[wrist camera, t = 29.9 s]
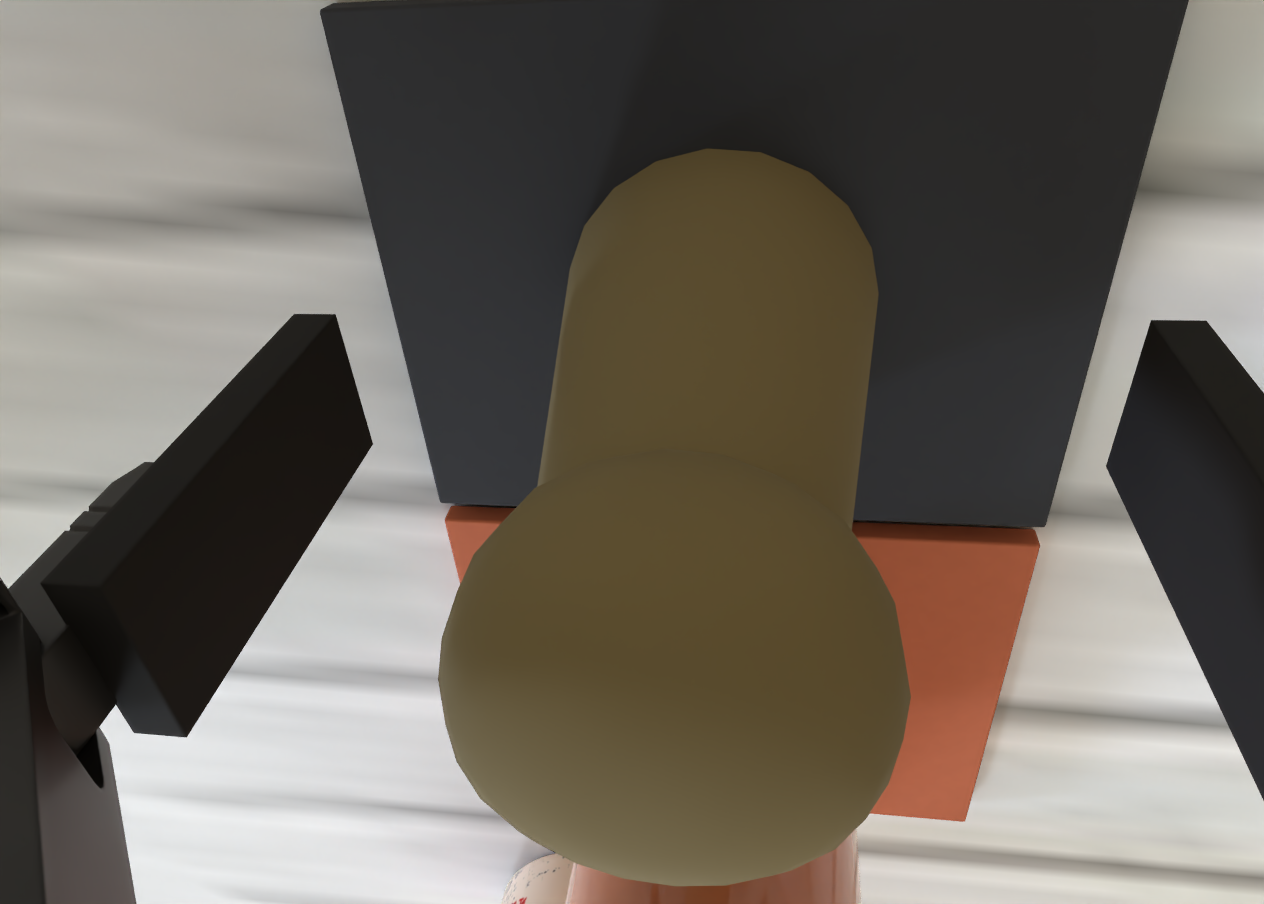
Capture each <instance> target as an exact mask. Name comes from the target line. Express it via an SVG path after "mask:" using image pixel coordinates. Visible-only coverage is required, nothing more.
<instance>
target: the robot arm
mask: <svg viewBox="0 0 1264 904" xmlns="http://www.w3.org/2000/svg"><path fill="white" fill-rule="evenodd" d="M372 445H373V443H372V439H371V436H370V432H369V429H368V425H367V422H366V418H365V415H364V411H363V408H362V405H361V401H360V398H359V394H358V391H357V387H356V384H355V380H354V377H353V373H352V370H351V366H350V363H349V359H348V356H347V353H346V349H345V346H344V342H343V339H342V335H341V332H340V328H339V325H338V321H337V318H336V314H294V315H293V316H292V317H291V318H290V319H289V320H288V321H287V322H286V323H285V324H284V325H283V327H282V328H281V329H280V330H279V331H278V332H277V333H276V334H275V335H274V336H273V337H272V338H271V339H270V340H269V341H268V342H267V343H266V345H265V346H264V347H263V348H262V349H261V350H260V351H259V352H258V353H257V354H256V355H255V356H254V357H253V358H252V359H251V360H250V361H249V363H248V364H247V365H246V366H245V367H244V368H243V369H242V370H241V371H240V372H239V373H238V374H237V375H236V376H235V377H234V378H233V379H232V381H231V382H230V383H229V384H228V385H227V386H226V387H225V388H224V389H223V390H222V391H221V392H220V393H219V394H218V395H217V396H216V397H215V399H214V400H213V401H212V402H211V403H210V404H209V405H208V406H207V407H206V408H205V409H204V410H203V411H202V412H201V413H200V414H199V415H198V416H197V418H196V419H195V420H194V421H193V422H192V423H191V424H190V425H189V426H188V427H187V428H186V429H185V430H184V431H183V432H182V433H181V434H180V436H179V437H178V438H177V439H176V440H175V441H174V442H173V443H172V444H171V445H170V446H169V447H168V448H167V449H166V450H165V451H164V452H163V454H162V455H161V456H160V457H159V458H158V459H157V460H156V461H155V462H144V463H143V464H141V465H140V466H138V467H136V468H135V469H133V470H132V471H130V472H128V473H127V474H125V475H124V476H122V477H120V478H119V479H117V480H116V481H114V482H112V483H111V484H110V485H109V486H108V487H107V488H106V489H105V491H104V492H103V493H102V494H101V495H100V496H99V497H98V498H97V499H96V500H95V501H94V502H93V503H92V504H91V505H90V506H89V511H84V512H83V513H82V514H81V515H80V516H79V517H78V518H77V519H76V520H75V521H74V522H73V523H72V524H71V525H70V531H64V532H63V533H62V534H61V536H60V537H59V538H58V539H57V540H56V541H55V542H54V543H53V544H52V545H51V546H50V547H49V548H48V549H47V550H46V551H45V552H44V553H43V554H42V555H41V556H40V557H39V558H38V559H37V560H36V561H35V562H34V563H33V564H32V565H31V566H30V567H29V568H28V569H27V570H26V571H25V572H24V573H23V574H22V575H21V576H20V577H19V578H18V580H17V581H16V582H15V583H14V584H13V585H12V586H11V587H10V588H9V589H8V588H7V587H6V585H5V584H4V582H3V581H2V579H1V578H0V904H136V899H135V893H134V887H133V881H132V875H131V869H130V863H129V858H128V852H127V846H126V840H125V834H124V828H123V822H122V816H121V810H120V805H119V799H118V793H117V787H116V781H115V775H114V769H113V763H112V757H111V752H110V746H109V743H108V741H107V739H106V737H105V736H104V734H103V732H102V731H101V729H100V728H99V726H100V725H101V724H102V722H103V721H104V720H105V718H106V717H107V715H108V714H109V713H110V711H111V710H112V709H113V707H114V706H115V705H117V707H118V708H119V710H120V711H121V713H122V715H123V716H124V718H125V719H126V721H127V723H128V724H129V726H130V727H131V729H132V731H133V732H134V733H141V734H153V735H165V736H177V737H187V736H188V734H189V733H190V731H191V730H192V728H193V726H194V725H195V723H196V722H197V720H198V718H199V717H200V715H201V714H202V712H203V711H204V709H205V707H206V706H207V704H208V703H209V701H210V700H211V698H212V696H213V695H214V693H215V692H216V690H217V689H218V687H219V685H220V684H221V682H222V681H223V679H224V678H225V676H226V674H227V673H228V671H229V670H230V668H231V667H232V665H233V663H234V662H235V660H236V659H237V657H238V656H239V654H240V652H241V651H242V649H243V648H244V646H245V645H246V643H247V641H248V640H249V638H250V637H251V635H252V634H253V632H254V630H255V629H256V627H257V626H258V624H259V623H260V621H261V619H262V618H263V616H264V615H265V613H266V612H267V610H268V608H269V607H270V605H271V604H272V602H273V601H274V599H275V597H276V596H277V594H278V593H279V591H280V590H281V588H282V586H283V585H284V583H285V582H286V580H287V579H288V577H289V575H290V574H291V572H292V571H293V569H294V567H295V566H296V564H297V563H298V561H299V560H300V558H301V556H302V555H303V553H304V552H305V550H306V549H307V547H308V545H309V544H310V542H311V541H312V539H313V538H314V536H315V534H316V533H317V531H318V530H319V528H320V527H321V525H322V523H323V522H324V520H325V519H326V517H327V516H328V514H329V512H330V511H331V509H332V508H333V506H334V505H335V503H336V501H337V500H338V498H339V497H340V495H341V494H342V492H343V490H344V489H345V487H346V486H347V484H348V483H349V481H350V479H351V478H352V476H353V475H354V473H355V472H356V470H357V468H358V467H359V465H360V464H361V462H362V461H363V459H364V457H365V456H366V454H367V453H368V451H369V450H370V448H371V446H372ZM1106 467H1107V469H1108V471H1109V474H1110V476H1111V478H1112V480H1113V482H1114V484H1115V486H1116V488H1117V491H1118V493H1119V495H1120V497H1121V499H1122V501H1123V503H1124V505H1125V507H1126V510H1127V512H1128V514H1129V516H1130V518H1131V520H1132V522H1133V524H1134V527H1135V529H1136V531H1137V533H1138V535H1139V537H1140V539H1141V541H1142V543H1143V546H1144V548H1145V550H1146V552H1147V554H1148V556H1149V558H1150V560H1151V563H1152V565H1153V567H1154V569H1155V571H1156V573H1157V575H1158V577H1159V580H1160V582H1161V584H1162V586H1163V588H1164V590H1165V592H1166V594H1167V596H1168V599H1169V601H1170V603H1171V605H1172V607H1173V609H1174V611H1175V613H1176V616H1177V618H1178V620H1179V622H1180V624H1181V626H1182V628H1183V630H1184V632H1185V635H1186V637H1187V639H1188V641H1189V643H1190V645H1191V647H1192V649H1193V652H1194V654H1195V656H1196V658H1197V660H1198V662H1199V664H1200V666H1201V669H1202V671H1203V673H1204V675H1205V677H1206V679H1207V681H1208V683H1209V685H1210V688H1211V690H1212V692H1213V694H1214V696H1215V698H1216V700H1217V702H1218V705H1219V707H1220V709H1221V711H1222V713H1223V715H1224V717H1225V719H1226V721H1227V724H1228V726H1229V728H1230V730H1231V732H1232V734H1233V736H1234V738H1235V741H1236V743H1237V745H1238V747H1239V749H1240V751H1241V753H1242V755H1243V758H1244V760H1245V762H1246V764H1247V766H1248V768H1249V770H1250V772H1251V774H1252V777H1253V779H1254V781H1255V783H1256V785H1257V787H1258V789H1259V791H1260V794H1261V796H1262V798H1263V800H1264V393H1263V392H1262V391H1261V389H1260V388H1259V387H1258V385H1257V384H1256V383H1255V382H1254V380H1253V379H1252V378H1251V377H1250V375H1249V374H1248V373H1247V372H1246V370H1245V369H1244V368H1243V366H1242V365H1241V364H1240V363H1239V361H1238V360H1237V359H1236V358H1235V356H1234V355H1233V354H1232V353H1231V351H1230V350H1229V349H1228V348H1227V346H1226V345H1225V344H1224V342H1223V341H1222V340H1221V339H1220V337H1219V336H1218V335H1217V334H1216V332H1215V331H1214V330H1213V329H1212V327H1211V326H1210V325H1209V324H1208V322H1207V321H1172V320H1151V323H1150V326H1149V329H1148V332H1147V336H1146V339H1145V342H1144V345H1143V348H1142V352H1141V355H1140V358H1139V361H1138V365H1137V368H1136V371H1135V374H1134V378H1133V381H1132V384H1131V387H1130V391H1129V394H1128V397H1127V400H1126V404H1125V407H1124V410H1123V413H1122V416H1121V420H1120V423H1119V426H1118V429H1117V433H1116V436H1115V439H1114V442H1113V446H1112V449H1111V452H1110V455H1109V459H1108V462H1107V465H1106Z"/></svg>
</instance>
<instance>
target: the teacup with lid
mask: <svg viewBox="0 0 1264 904" xmlns="http://www.w3.org/2000/svg"><path fill="white" fill-rule="evenodd" d="M572 867H573V862H572V861H570V860H568V859H566V858H565V857H563V856H561V855H559V854H557V853H555V854H551V855H548V856H544V857H542V858H539V859H536V860H534V861H532V862H530V863H528V864H527V865H525V866H524V867H523V868H521V869H520V870H519V871H518V872H517V873H515V875H514V876H513V877H512V878H511V880H510V881H509V883H508V885H507V887H506V889H505V892H504V895H503V899H502V903H501V904H565V902H566V897H567V892H568V887H569V882H570V877H571V872H572Z"/></svg>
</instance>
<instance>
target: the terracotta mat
mask: <svg viewBox="0 0 1264 904" xmlns="http://www.w3.org/2000/svg"><path fill="white" fill-rule="evenodd" d="M514 509H515V508H498V507H474V506H451V507H450V510H449V512H448V514H447V516H446V518H445V523H446V528H447V532H448V536H449V540H450V544H451V548H452V552H453V556H454V560H455V564H456V568H457V572H458V576H459V580H460V584H461V582H462V580H463V577H464V575H465V573H466V571H467V568H468V566H469V564H470V561H471V559H472V557H473V554H474V553H475V552H476V551H477V550H478V549H479V548H480V546H481V545H482V544H483V543H484V542H485V541H486V540H487V538H488V537H489V536H490V535H491V534H492V533H493V532H494V531H495V529H496V528H497V527H498V526H499V525H500V524H501V523H502V522H503V521H504V520H505V519H506V518H507V517H508V516H509V514H510V513H511V512H512V511H513V510H514ZM852 532H853V533H854V535H855V536H856V538H857V539H858V541H859V542H860V543H861V545H862V546H863V548H864V549H865V551H866V552H867V554H868V555H869V557H870V558H871V560H872V561H873V563H874V564H875V565H876V567H877V569H878V571H879V573H880V575H881V576H882V578H883V580H884V582H885V584H886V586H887V588H888V590H889V592H890V594H891V596H892V598H893V600H894V602H895V605H896V610H897V616H898V622H899V627H900V633H901V639H902V644H903V650H904V656H905V662H906V668H907V675H908V681H909V687H910V694H911V699H910V705H909V711H908V717H907V722H906V728H905V734H904V739H903V743H902V746H901V749H900V751H899V754H898V757H897V760H896V763H895V766H894V769H893V772H892V775H891V778H890V781H889V784H888V786H887V787H886V789H885V790H884V792H883V793H882V795H881V796H880V798H879V799H878V801H877V802H876V804H875V806H874V807H873V809H872V810H871V812H870V813H872V814H883V815H895V816H906V817H917V818H929V819H940V820H951V821H965V819H966V816H967V812H968V808H969V805H970V801H971V797H972V794H973V790H974V786H975V783H976V779H977V775H978V772H979V768H980V764H981V761H982V757H983V753H984V750H985V746H986V742H987V739H988V735H989V731H990V728H991V724H992V720H993V717H994V713H995V709H996V706H997V702H998V698H999V695H1000V691H1001V687H1002V684H1003V680H1004V676H1005V673H1006V669H1007V665H1008V662H1009V658H1010V654H1011V650H1012V647H1013V643H1014V639H1015V636H1016V632H1017V628H1018V625H1019V621H1020V617H1021V614H1022V610H1023V606H1024V603H1025V599H1026V595H1027V592H1028V588H1029V584H1030V581H1031V577H1032V573H1033V570H1034V566H1035V562H1036V559H1037V555H1038V551H1039V548H1040V544H1039V541H1038V538H1037V535H1036V532H1035V530H1033V529H1014V528H990V527H965V526H941V525H916V524H891V523H867V522H853V524H852Z"/></svg>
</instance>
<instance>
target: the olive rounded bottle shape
mask: <svg viewBox="0 0 1264 904" xmlns="http://www.w3.org/2000/svg"><path fill="white" fill-rule="evenodd" d="M878 295H879V293H878V286H877V279H876V273H875V266H874V259H873V253H872V248H871V246H870V244H869V242H868V240H867V239H866V237H865V235H864V233H863V231H862V230H861V228H860V226H859V224H858V222H857V221H856V219H855V217H854V215H853V213H852V212H851V210H850V208H849V206H848V205H847V204H846V203H844V202H843V201H842V200H841V199H840V198H839V197H838V196H836V195H835V194H834V193H833V192H832V191H831V190H830V189H828V188H827V187H826V186H825V185H824V184H823V183H822V182H820V181H819V180H818V179H817V178H816V177H815V176H814V175H812V174H811V173H810V172H808V171H806V170H803V169H801V168H798V167H796V166H793V165H791V164H788V163H786V162H783V161H781V160H779V159H776V158H774V157H771V156H769V155H766V154H764V153H761V152H751V151H736V150H722V149H703V150H699V151H695V152H691V153H687V154H683V155H679V156H675V157H671V158H667V159H663V160H659V161H656V162H654V163H653V164H651V165H649V166H648V167H646V168H645V169H643V170H642V171H640V172H638V173H637V174H635V175H634V176H632V177H631V178H629V179H628V180H626V181H624V182H623V183H621V184H620V185H618V186H617V187H615V188H614V189H613V190H612V191H611V192H610V194H609V195H608V196H607V197H606V199H605V200H604V201H603V202H602V204H601V205H600V206H599V208H598V209H597V210H596V211H595V213H594V214H593V215H592V216H591V218H590V219H589V220H588V221H587V223H586V224H585V225H584V228H583V231H582V234H581V237H580V240H579V243H578V246H577V249H576V252H575V255H574V258H573V261H572V264H571V267H570V271H569V278H568V285H567V291H566V298H565V305H564V311H563V318H562V325H561V331H560V338H559V345H558V351H557V358H556V365H555V372H554V378H553V385H552V392H551V398H550V405H549V412H548V418H547V425H546V432H545V438H544V445H543V452H542V458H541V465H540V472H539V478H538V485H537V487H536V488H534V489H533V490H532V491H531V493H530V494H529V495H528V496H527V497H526V498H525V499H524V500H523V501H522V502H521V503H520V504H519V505H518V506H517V507H516V508H515V509H514V510H513V511H512V512H511V513H510V514H509V516H508V517H507V518H506V519H505V520H504V521H503V522H502V523H501V524H500V525H499V526H498V527H497V528H496V529H495V531H494V532H493V533H492V534H491V535H490V536H489V537H488V538H487V540H486V541H485V542H484V543H483V544H482V545H481V546H480V548H479V549H478V550H477V551H476V552H475V553H474V554H473V557H472V559H471V561H470V564H469V566H468V568H467V571H466V573H465V575H464V577H463V580H462V582H461V584H460V587H459V589H458V591H457V594H456V597H455V600H454V603H453V606H452V609H451V612H450V615H449V618H448V621H447V624H446V627H445V630H444V633H443V636H442V643H441V654H440V665H439V676H438V681H439V687H440V693H441V700H442V706H443V712H444V718H445V724H446V727H447V731H448V734H449V737H450V741H451V744H452V748H453V751H454V754H455V758H456V761H457V763H458V764H459V766H460V767H461V769H462V771H463V772H464V774H465V775H466V777H467V778H468V780H469V781H470V783H471V785H472V786H473V788H474V789H475V791H476V792H477V794H478V796H479V797H480V799H481V800H483V801H484V802H485V803H486V804H487V805H488V806H490V807H491V808H492V809H493V810H494V811H495V812H497V813H498V814H499V815H500V816H501V817H502V818H504V819H505V820H506V821H507V822H508V823H509V824H511V825H512V826H513V827H514V828H515V829H517V830H518V831H519V832H520V833H522V834H524V835H525V836H527V837H528V838H530V839H531V840H533V841H535V842H536V843H538V844H540V845H542V846H544V847H546V848H548V849H550V850H551V851H553V852H555V853H557V854H559V855H561V856H563V857H565V858H566V859H568V860H570V861H572V862H574V863H576V864H579V865H583V866H586V867H589V868H592V869H595V870H598V871H601V872H604V873H607V874H611V875H614V876H617V877H620V878H623V879H629V880H636V881H642V882H649V883H656V884H662V885H669V886H726V885H730V884H735V883H740V882H745V881H750V880H754V879H759V878H764V877H769V876H773V875H777V874H781V873H784V872H788V871H791V870H793V869H796V868H798V867H800V866H802V865H804V864H806V863H808V862H810V861H812V860H814V859H816V858H818V857H820V856H823V855H825V854H827V853H829V852H831V851H833V850H835V849H836V848H837V847H838V846H839V845H840V844H841V843H842V842H843V841H844V840H845V839H846V838H847V837H848V836H849V835H850V834H851V833H852V832H853V831H854V830H855V829H856V828H857V827H858V826H859V825H860V824H861V823H862V822H863V821H864V820H865V819H866V818H867V816H868V815H869V813H870V812H871V810H872V809H873V807H874V806H875V804H876V802H877V801H878V799H879V798H880V796H881V795H882V793H883V792H884V790H885V789H886V787H887V786H888V784H889V781H890V778H891V775H892V772H893V769H894V766H895V763H896V760H897V757H898V754H899V751H900V749H901V746H902V743H903V739H904V734H905V728H906V722H907V717H908V711H909V705H910V699H911V694H910V687H909V681H908V675H907V668H906V662H905V656H904V650H903V644H902V639H901V633H900V627H899V622H898V616H897V610H896V605H895V602H894V600H893V598H892V596H891V594H890V592H889V590H888V588H887V586H886V584H885V582H884V580H883V578H882V576H881V575H880V573H879V571H878V569H877V567H876V565H875V564H874V563H873V561H872V560H871V558H870V557H869V555H868V554H867V552H866V551H865V549H864V548H863V546H862V545H861V543H860V542H859V541H858V539H857V538H856V536H855V535H854V533H853V532H852V524H853V516H854V507H855V498H856V489H857V480H858V472H859V463H860V454H861V445H862V436H863V427H864V419H865V410H866V401H867V392H868V383H869V375H870V366H871V357H872V348H873V339H874V331H875V322H876V313H877V304H878Z"/></svg>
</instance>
